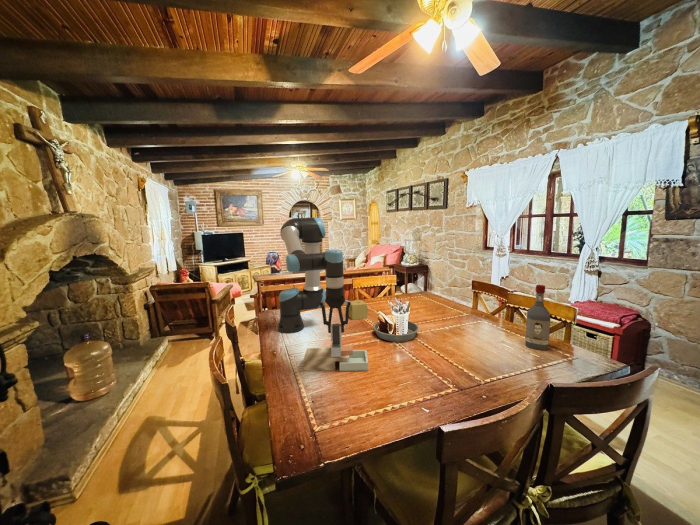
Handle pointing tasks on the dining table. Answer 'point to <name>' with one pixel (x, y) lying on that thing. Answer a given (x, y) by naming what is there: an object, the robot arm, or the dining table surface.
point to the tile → (346, 350)
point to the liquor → (538, 323)
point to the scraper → (336, 341)
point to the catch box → (355, 362)
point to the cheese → (358, 310)
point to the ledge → (321, 359)
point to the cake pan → (398, 338)
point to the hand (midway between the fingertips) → (336, 339)
